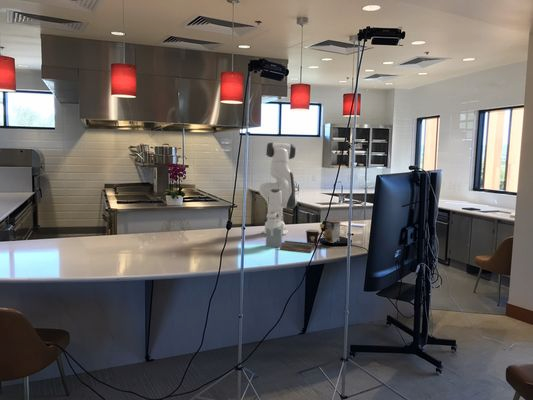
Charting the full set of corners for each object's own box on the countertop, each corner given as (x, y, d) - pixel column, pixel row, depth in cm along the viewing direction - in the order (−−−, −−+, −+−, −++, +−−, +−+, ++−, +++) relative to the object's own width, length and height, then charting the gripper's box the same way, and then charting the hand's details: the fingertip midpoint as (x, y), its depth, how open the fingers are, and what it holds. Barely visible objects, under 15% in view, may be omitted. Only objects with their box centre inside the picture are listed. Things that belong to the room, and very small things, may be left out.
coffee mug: (303, 245, 307) (304, 230, 306) (308, 243, 314) (309, 229, 313) (319, 247, 301) (320, 232, 300) (324, 245, 309) (325, 230, 308)
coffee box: (323, 243, 315) (324, 220, 313) (329, 242, 319) (330, 219, 317) (332, 246, 307) (333, 222, 306) (339, 245, 311) (340, 221, 310)
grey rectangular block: (267, 244, 305) (267, 227, 304) (281, 246, 302) (282, 228, 301) (265, 245, 302) (266, 227, 301) (280, 247, 299) (280, 229, 298)
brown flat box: (286, 245, 305) (286, 239, 304) (315, 248, 298) (315, 242, 298) (279, 249, 292) (280, 243, 291) (310, 252, 285) (310, 246, 285)
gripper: (275, 211, 311) (274, 231, 312) (265, 215, 291) (265, 236, 293) (284, 212, 309) (283, 232, 310) (275, 215, 289) (274, 237, 291)
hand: (274, 234), depth 301 cm, fingers open, 8 cm apart
